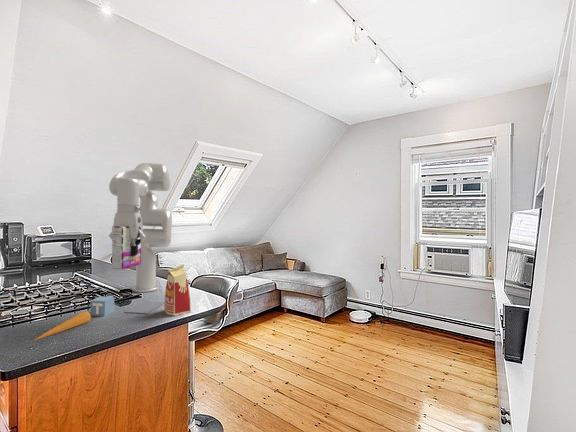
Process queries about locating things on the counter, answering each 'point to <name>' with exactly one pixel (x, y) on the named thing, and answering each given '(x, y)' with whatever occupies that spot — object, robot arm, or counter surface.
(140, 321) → the counter surface
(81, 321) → the carrot
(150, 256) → the robot arm
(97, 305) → the letter cube
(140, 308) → the mat
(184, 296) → the milk carton
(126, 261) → the candy bar box
